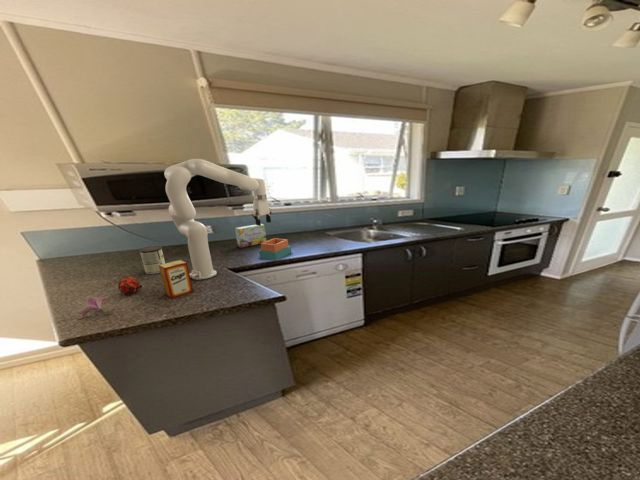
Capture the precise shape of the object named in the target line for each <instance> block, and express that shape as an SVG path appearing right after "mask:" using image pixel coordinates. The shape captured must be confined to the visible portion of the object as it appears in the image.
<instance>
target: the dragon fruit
mask: <svg viewBox="0 0 640 480" xmlns="http://www.w3.org/2000/svg"><path fill="white" fill-rule="evenodd" d="M142 288H143V284H141V282H140V281H139V278H138V277H133V276H127V277H126V276H125V277H123V278H122V279H121V280H119V281H118V283H117V289H118V291H120V292H121V293H122V294H125V295H127V296H131V295H132V294H133V293H136V292H138V291H139V289H142Z"/></svg>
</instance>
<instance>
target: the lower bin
mask: <svg viewBox="0 0 640 480" xmlns="http://www.w3.org/2000/svg"><path fill="white" fill-rule="evenodd" d="M258 254H259V258H260V259H266V260H273V261H277V260H280V259H282V258H283V257H286V256H289V255H290V254H292V246H291V245H288V247H287V248H285V249H282V250H280V251H277V252H268V251H262V249H259V250H258Z"/></svg>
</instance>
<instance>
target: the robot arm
mask: <svg viewBox="0 0 640 480" xmlns="http://www.w3.org/2000/svg"><path fill="white" fill-rule="evenodd" d="M163 172H164V173H163V174H164V178H165V179H166V183H165V193H166V196H167V198H168V200H169V202H170V204H169V205H168V213H169V216H170V218H171V219H172V221H173V223H174V225H175V227H176V229H177V230H178V232H179V233H180V234H181V235H182V236H185V237H187V249H188V252H189V256H190V261H191V266H192V270H191V272H189V275H190V279H192V280H197V281H199V280H200V281H201V280H206V279H210V278H213V277H215V276H217V275H218V272H217V270H215V269H214V267H213V261H212V257H211V252H210V247H209V246H210V245H209V240H208V229H207V227H206V225H205V224H203V223H202V222H200V221H197V220H195V218H196V215H197V212H196V208H195V206H194V205H193V203H192V201H191V199H190V197H189V194H188V191H187V186H188V184H189V183H190V181H191V180H192V178H193V177H196V176H202V177H205V178H207V179H210V180H214V181H215V182H219V183H222V184H224V185H225V184H226V185H232V186H236V187H238V188H239V189H240V190H242V191H249V192H252V194H253V202H252V210H253V211H252V212H251V215H252V217H253V219H254V221H255V225H259V226H260V225H261V224H262V223H261V219H260V218H261V217H262V216H265V221H266V223H272V221H271V220H272V219H271V217H272V212H273V209H272V208H271V207H270V204H269V200H268V197H267V190H266V181H265V178H263V177H252V176H249V175H246V174H244V173H241V172H238V171H234V170H233V169H229V168H226V167H223V166H222V165H219V164H215V163H213V162H211V161H208V160H206V159H203V158H190V159H188V160H185V161H182V162H179V163H176V164H173V165H169V166H168V167H166V168H165V169H164V171H163Z"/></svg>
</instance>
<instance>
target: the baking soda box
mask: <svg viewBox="0 0 640 480" xmlns="http://www.w3.org/2000/svg"><path fill="white" fill-rule="evenodd" d="M159 269H160V275H161V280H162V284H163V289H164V292H165V295H166V296H167V297H169V298H170V299H174V298H177V297H180V296H184V295H187V294H189V293H193V292H194V289H193V284H192V280H191V279H192V278H191V277H190V275H189V274H190V270H189V265H188V262H187V261H185V260H182V259H179V260H174V261H169V262H167V263H166V262H165V264H162V265H159Z"/></svg>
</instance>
